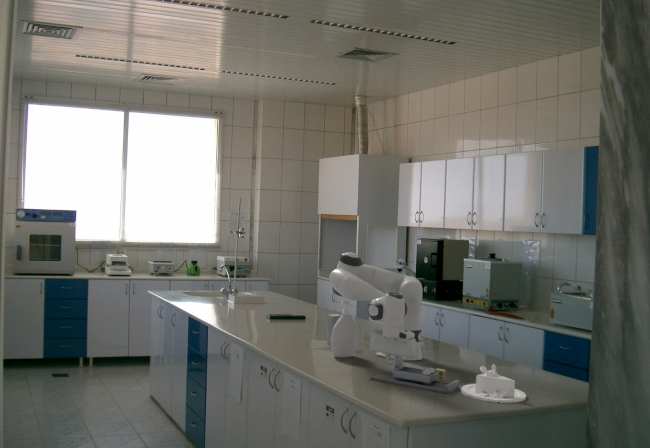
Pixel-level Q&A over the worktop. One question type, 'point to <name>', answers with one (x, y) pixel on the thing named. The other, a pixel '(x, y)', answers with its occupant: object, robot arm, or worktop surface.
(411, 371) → the long grey tray
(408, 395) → the worktop surface
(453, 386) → the track
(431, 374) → the steel puck
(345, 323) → the soap bottle
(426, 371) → the steel puck
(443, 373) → the wooden block
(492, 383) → the dish
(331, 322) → the skincare box
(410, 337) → the robot arm
